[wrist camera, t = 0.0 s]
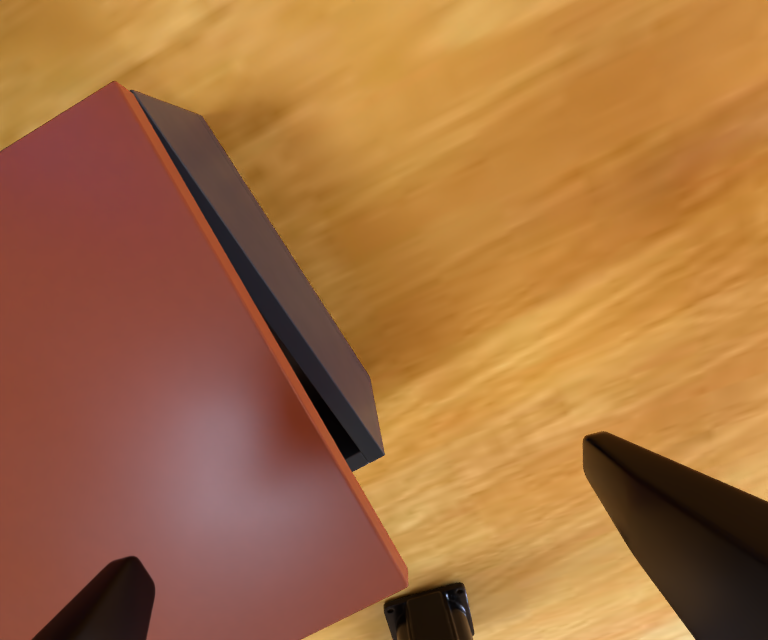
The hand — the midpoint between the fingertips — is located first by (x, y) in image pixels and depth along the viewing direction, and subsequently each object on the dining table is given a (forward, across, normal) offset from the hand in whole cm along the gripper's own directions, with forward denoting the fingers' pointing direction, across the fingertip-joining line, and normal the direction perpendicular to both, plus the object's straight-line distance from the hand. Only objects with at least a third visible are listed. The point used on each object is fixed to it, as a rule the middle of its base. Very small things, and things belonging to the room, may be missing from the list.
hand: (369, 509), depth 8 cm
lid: (+5, +8, 0) cm, 10 cm away
